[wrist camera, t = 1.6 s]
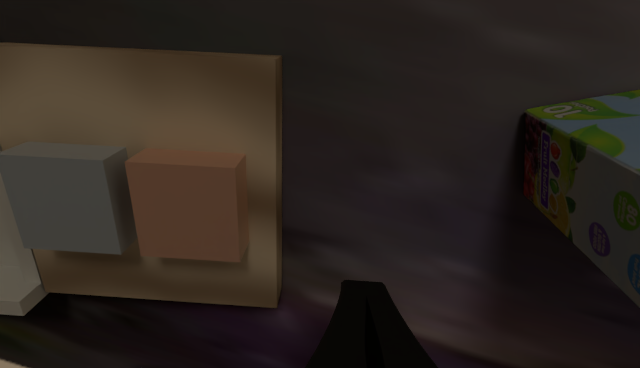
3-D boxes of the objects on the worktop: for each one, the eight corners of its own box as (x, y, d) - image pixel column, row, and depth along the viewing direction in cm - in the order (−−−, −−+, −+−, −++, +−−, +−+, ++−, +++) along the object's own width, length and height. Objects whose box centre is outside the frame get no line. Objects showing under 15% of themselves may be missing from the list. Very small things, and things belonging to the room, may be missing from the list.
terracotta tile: (249, 241, 21) (239, 262, 19) (158, 235, 21) (140, 255, 19) (245, 153, 19) (235, 168, 17) (145, 148, 19) (124, 161, 17)
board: (281, 286, 24) (276, 308, 22) (67, 271, 25) (45, 291, 23) (282, 55, 19) (275, 59, 17) (6, 42, 19) (-30, 44, 17)
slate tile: (140, 234, 21) (121, 254, 19) (52, 228, 21) (24, 248, 19) (126, 146, 19) (102, 160, 17) (28, 141, 19) (-6, 154, 17)
